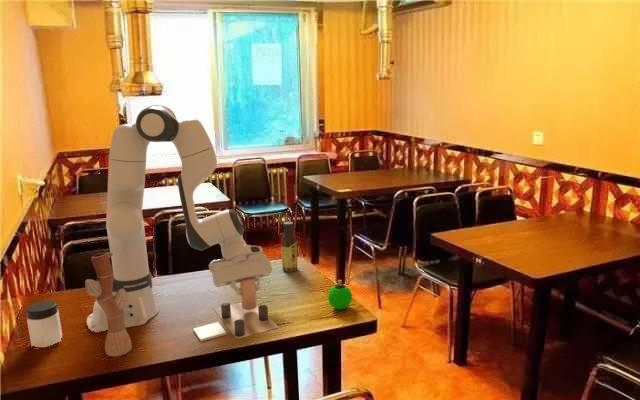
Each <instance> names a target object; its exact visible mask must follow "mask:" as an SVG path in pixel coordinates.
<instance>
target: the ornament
mask: <svg viewBox="0 0 640 400" xmlns="http://www.w3.org/2000/svg"><path fill="white" fill-rule="evenodd" d="M327 299H328V303H329V304H330V305H331V306H332V307H333V308H334V309H336V310H343V309H346V308H347V307H348V306H350V305H351V303H352V300H353V293H352V291H351V289H350V288H349V287H347V286H346V285H345V284H343V281H342V279H338V280H337V284H336V285H334V286H332V287H331V288H330V289H329V291H328V295H327Z"/></svg>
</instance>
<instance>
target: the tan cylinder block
mask: <svg viewBox="0 0 640 400" xmlns="http://www.w3.org/2000/svg"><path fill="white" fill-rule="evenodd" d="M239 283H240V284H239V285H240V286H239V288H241V289H242V294H241V295H240V300H241V302H242V308H243V309H245V310H251V309H254V308H256V307H257V305H258V303H257V291H256V282H255V280H254V279H251V278H248V279H243V280H241V281H240V282H239ZM241 302H240V303H241Z"/></svg>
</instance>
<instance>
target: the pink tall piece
mask: <svg viewBox="0 0 640 400" xmlns="http://www.w3.org/2000/svg"><path fill="white" fill-rule="evenodd" d="M112 255H113V254H112V253H111V252H110V251H109V252H108V251H107V252H97V253H95V254H94V255H92V256H91V258H90V260H91V263H92V265H93V268H94V271H95V274H96V280H95V279H90V278H89V279H88V278H87V279H85V281H84V287H85V290H86V293H87V294H88V295H89V296H90V297H95V301H96V300H97V302H98V304H99V305H100V307H101V308H102V309H103V311H104V312H105V314H106V316H107V322H108V331H107V334H106V336H105V340H104V341H105V342H104V350H105V351H104V352H105V354H106V356H109V357H112V356H113V357H120V356H123V355H126V354H127V353H130V351H132V350H133V345H132V340H131V337H130V335H129V333H128V331H127V329H126V328H127V327H126V328H125V324H124V312H123V309H124V308H125V307H126V305H127V303H128V295H127V293H126V291H125V290H124V289H120V290H119V291H118V292H117V293H116V295H115V296H113V294H112V289H113V278H114V273H113V267H112V262H111V260H110V258H111V256H112Z"/></svg>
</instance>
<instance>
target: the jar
mask: <svg viewBox="0 0 640 400" xmlns="http://www.w3.org/2000/svg"><path fill="white" fill-rule="evenodd" d="M26 317H27V319H26V323H27V328H28V334H29V339H30V345H31V347H32V346H35V347H47V346H50V345H53V344H55V343H57V342H60V341H61V342H62V340H61V338H62V339H63V330H62V324H61V319H60V311H59V308H58V305H57V302H56V301H55V300H42V301H37V302H34V303H31V304H30V305H28V306H27V307H26Z"/></svg>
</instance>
